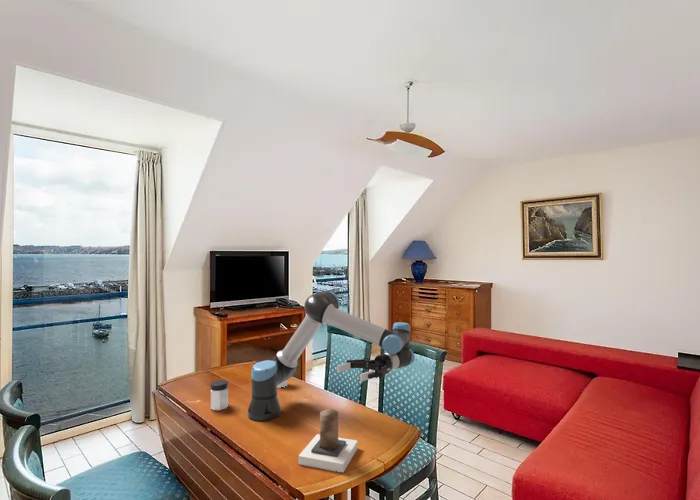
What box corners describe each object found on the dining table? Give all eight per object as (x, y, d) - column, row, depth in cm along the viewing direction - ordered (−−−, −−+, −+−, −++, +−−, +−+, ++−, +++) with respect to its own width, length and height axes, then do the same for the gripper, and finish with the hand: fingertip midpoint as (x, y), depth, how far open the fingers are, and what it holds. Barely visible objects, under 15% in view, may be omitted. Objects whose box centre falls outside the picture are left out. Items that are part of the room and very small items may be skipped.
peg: (317, 458, 141) (317, 415, 141) (324, 449, 147) (324, 408, 147) (334, 461, 139) (334, 418, 139) (340, 452, 145) (340, 410, 145)
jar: (223, 402, 193) (223, 378, 193) (232, 406, 188) (232, 381, 188) (206, 407, 186) (206, 383, 186) (215, 412, 181) (215, 387, 181)
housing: (298, 464, 137) (298, 453, 137) (317, 441, 154) (317, 431, 154) (343, 472, 132) (343, 461, 132) (357, 448, 148) (357, 438, 148)
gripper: (408, 379, 154) (371, 392, 140) (365, 364, 173) (328, 374, 159) (409, 360, 154) (371, 371, 140) (365, 347, 173) (329, 356, 158)
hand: (348, 373), depth 149 cm, fingers open, 13 cm apart
